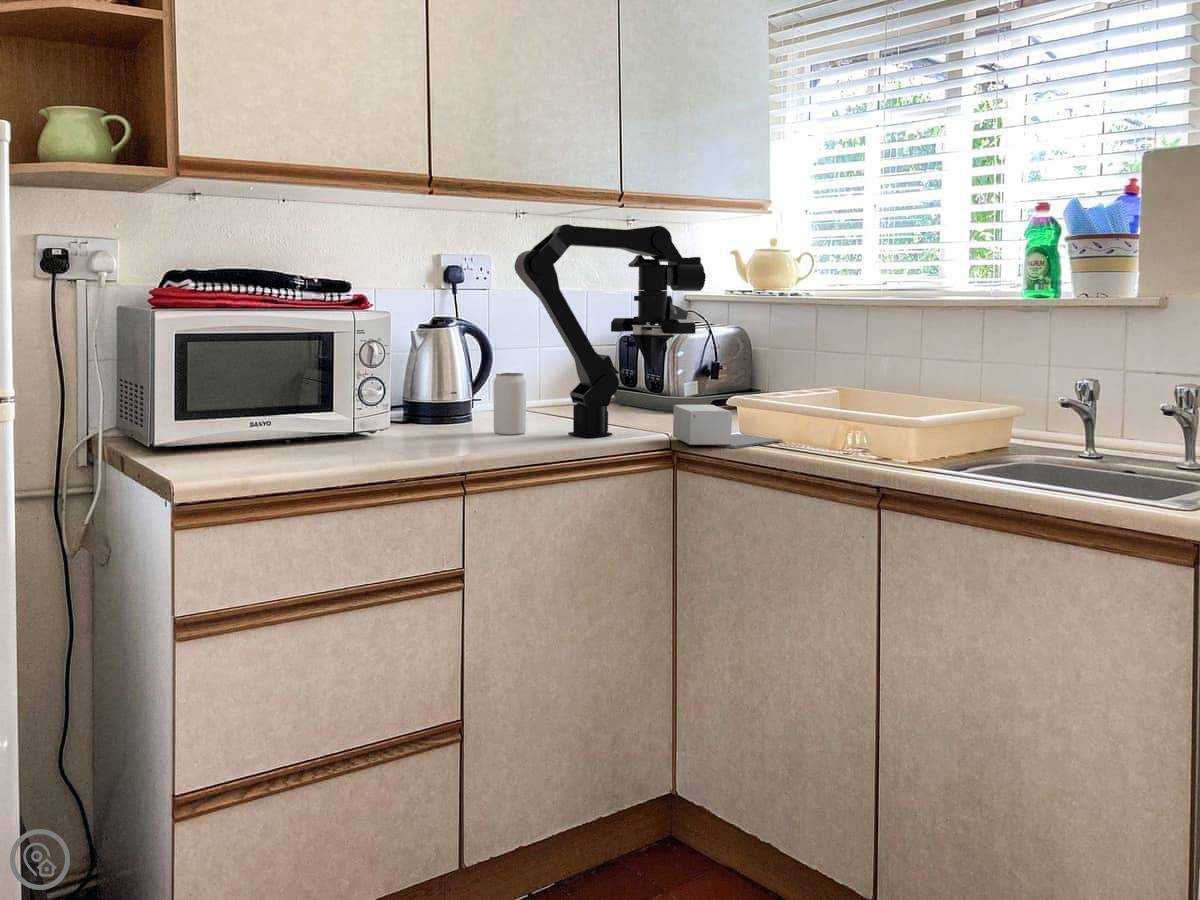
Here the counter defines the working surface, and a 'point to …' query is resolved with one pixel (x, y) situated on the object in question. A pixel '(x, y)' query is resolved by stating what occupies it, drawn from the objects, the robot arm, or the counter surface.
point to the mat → (747, 441)
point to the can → (509, 404)
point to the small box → (702, 424)
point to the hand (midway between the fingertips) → (651, 369)
